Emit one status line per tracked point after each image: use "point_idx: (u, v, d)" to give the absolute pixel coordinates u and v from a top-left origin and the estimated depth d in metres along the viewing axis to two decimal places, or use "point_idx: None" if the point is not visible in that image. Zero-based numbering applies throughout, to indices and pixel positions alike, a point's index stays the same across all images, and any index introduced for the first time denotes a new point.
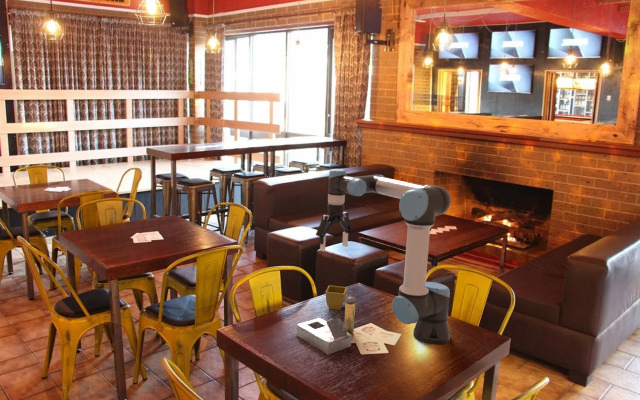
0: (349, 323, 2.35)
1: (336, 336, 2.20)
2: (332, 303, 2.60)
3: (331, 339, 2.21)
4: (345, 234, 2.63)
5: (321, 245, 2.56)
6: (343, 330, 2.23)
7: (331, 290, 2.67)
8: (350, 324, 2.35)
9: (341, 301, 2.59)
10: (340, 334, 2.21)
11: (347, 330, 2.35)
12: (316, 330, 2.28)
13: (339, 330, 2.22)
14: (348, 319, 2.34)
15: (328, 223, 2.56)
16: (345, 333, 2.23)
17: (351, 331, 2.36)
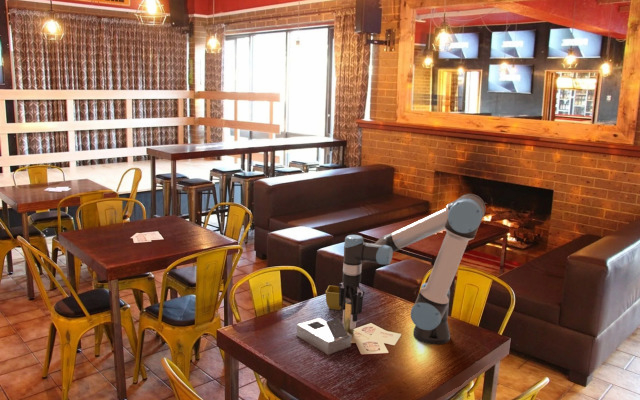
0: (349, 323, 2.35)
1: (336, 336, 2.20)
2: (332, 303, 2.60)
3: (331, 339, 2.21)
4: None
5: None
6: (343, 330, 2.23)
7: (331, 290, 2.67)
8: None
9: None
10: (340, 334, 2.21)
11: (347, 330, 2.35)
12: (316, 330, 2.28)
13: (339, 330, 2.22)
14: (348, 319, 2.34)
15: None
16: (345, 333, 2.23)
17: (351, 331, 2.36)
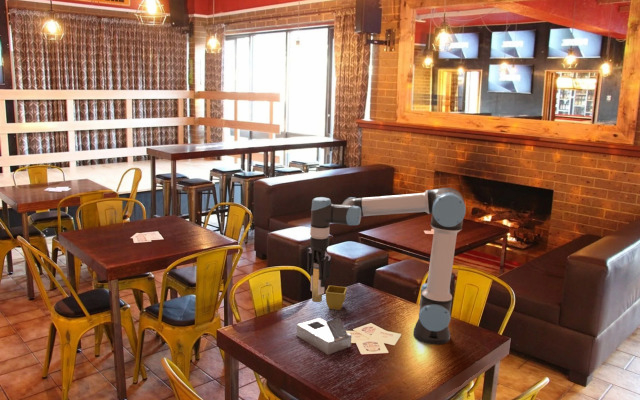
0: (317, 289, 2.28)
1: (336, 336, 2.20)
2: (332, 303, 2.60)
3: (331, 339, 2.21)
4: None
5: None
6: (343, 330, 2.23)
7: (331, 290, 2.67)
8: None
9: (341, 301, 2.59)
10: (340, 334, 2.21)
11: (315, 296, 2.28)
12: (316, 330, 2.28)
13: (339, 330, 2.22)
14: (316, 285, 2.27)
15: None
16: (345, 333, 2.23)
17: (319, 297, 2.29)
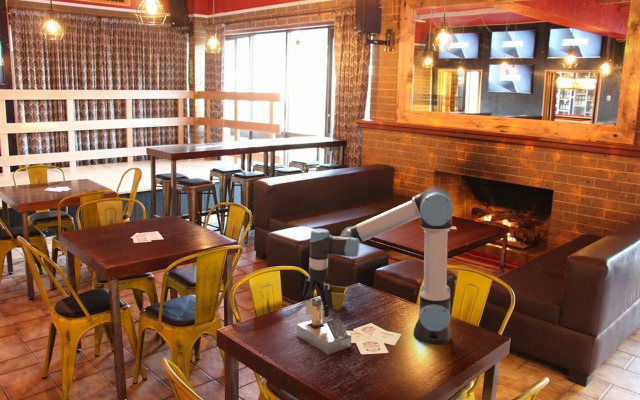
0: (316, 326, 2.31)
1: (336, 336, 2.20)
2: None
3: (331, 339, 2.21)
4: None
5: None
6: (343, 330, 2.23)
7: (331, 290, 2.67)
8: (317, 327, 2.31)
9: (341, 301, 2.59)
10: (340, 334, 2.21)
11: None
12: (316, 330, 2.28)
13: (339, 330, 2.22)
14: (315, 321, 2.31)
15: None
16: (345, 333, 2.23)
17: None
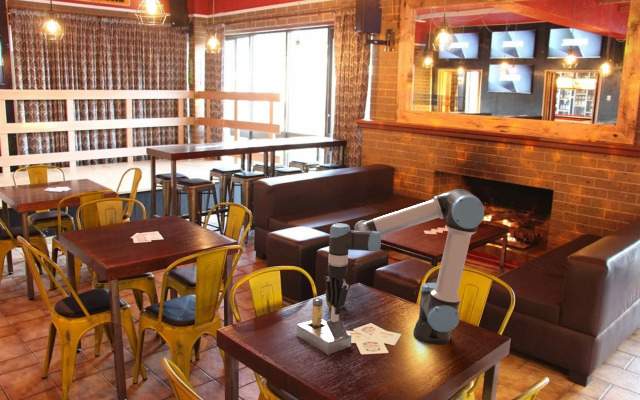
0: (316, 326, 2.31)
1: (336, 336, 2.20)
2: None
3: (331, 339, 2.21)
4: None
5: None
6: (343, 330, 2.23)
7: None
8: (317, 327, 2.31)
9: None
10: (340, 334, 2.21)
11: None
12: (316, 330, 2.28)
13: (339, 330, 2.22)
14: (315, 321, 2.31)
15: None
16: (345, 333, 2.23)
17: None
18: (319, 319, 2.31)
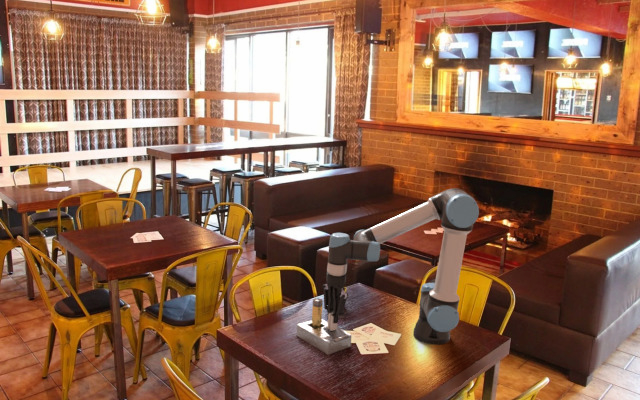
0: (316, 326, 2.31)
1: (335, 337, 2.20)
2: None
3: (331, 339, 2.21)
4: None
5: None
6: (341, 332, 2.24)
7: None
8: (317, 327, 2.31)
9: None
10: (339, 335, 2.22)
11: None
12: (316, 330, 2.28)
13: (337, 332, 2.23)
14: (315, 322, 2.31)
15: None
16: (344, 334, 2.23)
17: None
18: (319, 319, 2.31)
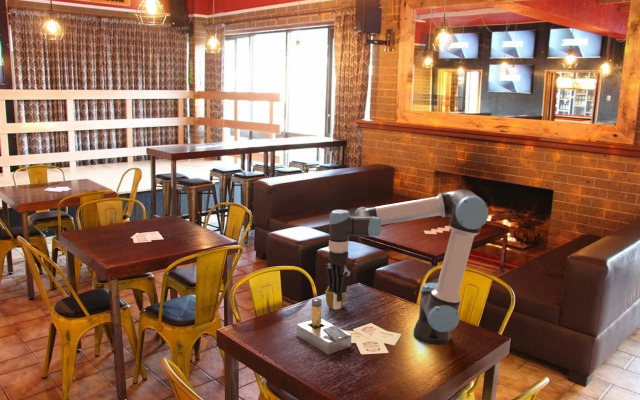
0: (316, 326, 2.31)
1: (335, 337, 2.21)
2: (332, 303, 2.60)
3: (331, 339, 2.21)
4: None
5: None
6: (341, 332, 2.24)
7: (331, 290, 2.67)
8: (317, 327, 2.31)
9: (341, 301, 2.59)
10: (339, 335, 2.22)
11: None
12: (316, 330, 2.28)
13: (337, 333, 2.23)
14: (315, 322, 2.30)
15: None
16: (344, 334, 2.23)
17: None
18: (318, 319, 2.31)
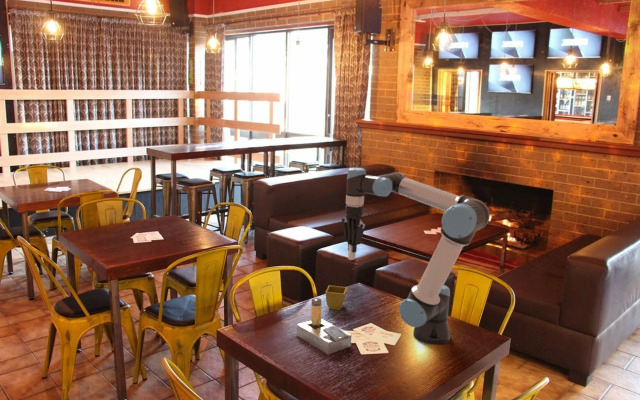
0: (316, 325, 2.31)
1: (335, 337, 2.21)
2: (332, 303, 2.60)
3: (331, 339, 2.21)
4: None
5: None
6: (341, 332, 2.24)
7: (331, 290, 2.67)
8: (317, 326, 2.31)
9: (341, 301, 2.59)
10: (339, 335, 2.22)
11: None
12: (316, 330, 2.28)
13: (337, 333, 2.23)
14: (315, 321, 2.31)
15: None
16: (344, 334, 2.23)
17: None
18: (318, 319, 2.31)
